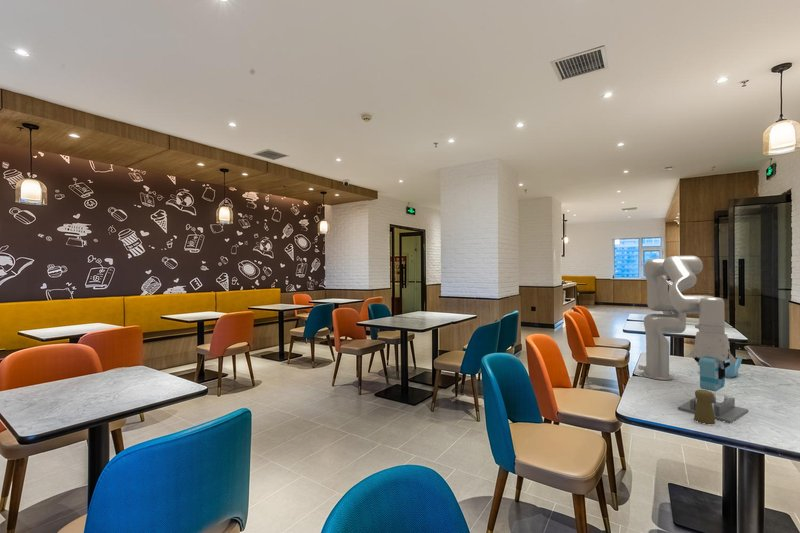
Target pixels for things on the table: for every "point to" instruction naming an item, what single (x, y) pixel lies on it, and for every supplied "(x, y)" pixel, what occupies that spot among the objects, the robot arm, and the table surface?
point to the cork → (704, 407)
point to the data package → (710, 374)
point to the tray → (718, 408)
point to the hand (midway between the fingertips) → (712, 376)
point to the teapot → (732, 368)
